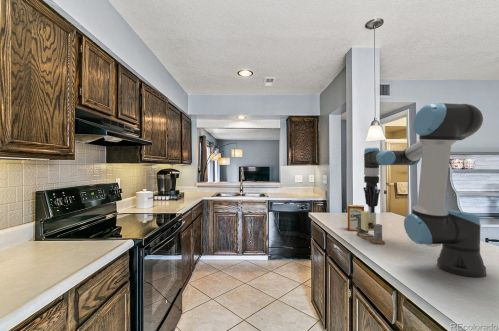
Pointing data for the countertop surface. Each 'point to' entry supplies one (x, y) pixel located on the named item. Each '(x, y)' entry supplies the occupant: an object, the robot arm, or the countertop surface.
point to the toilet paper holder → (365, 235)
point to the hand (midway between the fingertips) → (371, 218)
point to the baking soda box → (354, 216)
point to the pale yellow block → (367, 221)
